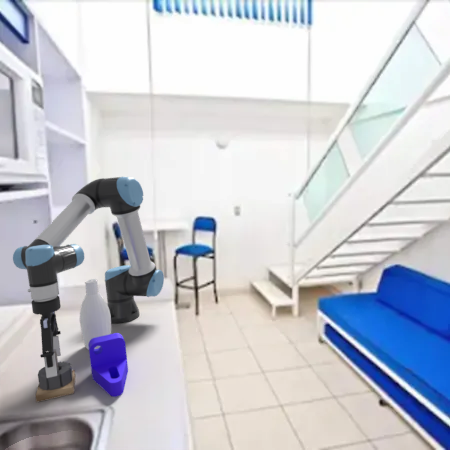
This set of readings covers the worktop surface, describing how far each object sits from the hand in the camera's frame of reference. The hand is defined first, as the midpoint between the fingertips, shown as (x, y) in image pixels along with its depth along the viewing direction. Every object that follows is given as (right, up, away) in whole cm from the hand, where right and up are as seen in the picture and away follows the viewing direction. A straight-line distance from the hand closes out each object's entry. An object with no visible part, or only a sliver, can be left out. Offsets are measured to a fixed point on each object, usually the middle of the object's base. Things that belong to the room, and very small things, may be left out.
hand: (54, 365), depth 113 cm
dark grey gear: (0, -5, +1) cm, 5 cm away
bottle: (+3, -4, +29) cm, 30 cm away
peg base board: (0, -7, +1) cm, 7 cm away
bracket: (+17, -6, +3) cm, 18 cm away
